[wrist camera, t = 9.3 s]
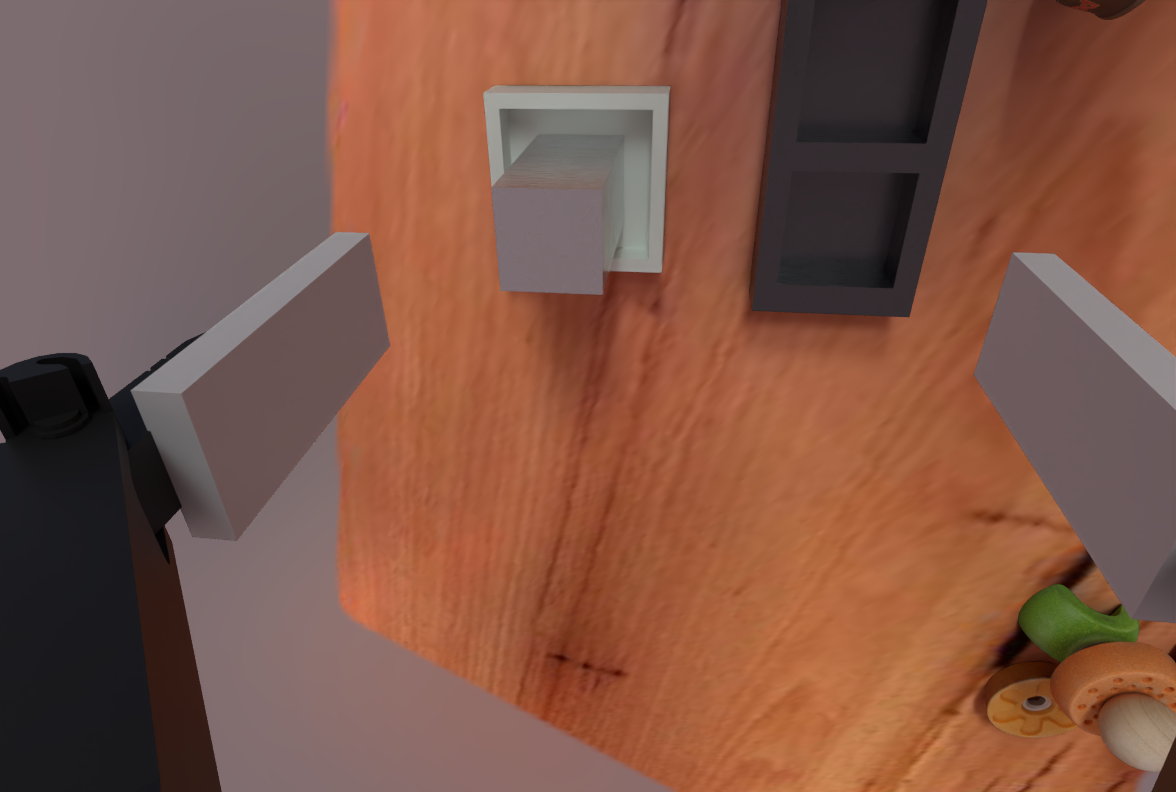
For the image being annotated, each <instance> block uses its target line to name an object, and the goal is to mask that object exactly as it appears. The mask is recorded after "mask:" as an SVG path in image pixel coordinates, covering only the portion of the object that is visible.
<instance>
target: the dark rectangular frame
mask: <svg viewBox="0 0 1176 792" xmlns="http://www.w3.org/2000/svg"><path fill="white" fill-rule="evenodd" d="M986 4H987V0H782V2H781V11H780V20H779V29H778V38H777V47H776V56H775V65H774V74H773V83H772V92H771V100H770V109H769V118H768V127H767V136H766V145H765V154H764V163H763V172H762V181H761V190H760V198H759V207H758V216H757V225H756V234H755V243H754V252H753V261H752V270H751V279H750V288H749V293H750V300H751V307H752V311H773V312H797V313H821V314H846V315H870V316H894V317H909V316H910V312H911V308H912V304H913V300H914V296H915V292H916V288H917V284H918V280H919V276H920V272H921V268H922V263H923V259H924V255H925V251H926V247H927V243H928V239H929V235H930V231H931V227H932V223H933V219H934V215H935V211H936V207H937V203H938V199H939V195H940V191H941V187H942V182H943V178H944V174H945V170H946V166H947V162H948V158H949V154H950V150H951V146H952V142H953V138H954V134H955V130H956V126H957V122H958V118H959V114H960V110H961V106H962V101H963V97H964V93H965V89H966V85H967V81H968V77H969V73H970V69H971V65H972V61H973V57H974V53H975V49H976V45H977V41H978V37H979V33H980V29H981V25H982V20H983V16H984V12H985V8H986Z"/></svg>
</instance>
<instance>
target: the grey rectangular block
mask: <svg viewBox="0 0 1176 792" xmlns="http://www.w3.org/2000/svg"><path fill="white" fill-rule="evenodd" d="M624 141H625V135H568V134H538V135H537V136H536V137H535V139H534V140H533V141H532V142H531V143H530V144H529V145H528V146H527V148H526V149H525V150H524V151H523V152H522V153H521V154H520V156H519V157H518V158H517V159H516V160H515V161H514V162H513V163H512V165H511V166H510V167H509V168H508V169H507V170H506V171H505V173H504V174H503V175H502V176H501V177H500V178H499V179H498V180H497V182H496V183H495V184H494V185H493V186H492V187H491V189H492V201H493V212H494V223H495V235H496V246H497V257H498V268H499V280H500V291H519V292H545V293H570V294H595V295H603V292H604V289H605V285H606V282H607V278H608V275H609V271H610V267H611V264H612V260H613V257H614V253H615V250H616V246H617V243H618V239H619V236H620V232H621V229H622V225H623V222H624Z"/></svg>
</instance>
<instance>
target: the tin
mask: <svg viewBox="0 0 1176 792" xmlns="http://www.w3.org/2000/svg"><path fill="white" fill-rule="evenodd" d="M1056 1H1058V2H1059V3H1060V4H1062V5H1065V6H1068V7H1071V8H1075V9H1079V10H1083V11H1087V12H1091V13H1094V14H1095V15H1096V16H1098V17H1099V18H1101V19H1104V20H1112V19H1115V18H1118V17H1121V16H1123V15H1125V14H1126V13H1128V12H1130V11H1131V10H1133V9H1134V8H1136V7H1137V6H1139V5H1140V4H1141V3H1142V2H1144V1H1145V0H1056Z"/></svg>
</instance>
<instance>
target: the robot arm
mask: <svg viewBox="0 0 1176 792" xmlns="http://www.w3.org/2000/svg"><path fill="white" fill-rule="evenodd" d="M389 346H390V342H389V337H388V331H387V326H386V321H385V315H384V310H383V305H382V299H381V294H380V288H379V283H378V278H377V272H376V267H375V262H374V256H373V251H372V246H371V240H370V235H369V233H346V232H335V233H334V234H333V235H331V236H330V237H329V238H328V239H326V240H325V241H324V242H323V243H321V244H320V245H319V246H317V247H316V248H315V249H313V250H312V251H311V252H309V253H308V254H307V255H306V256H304V257H303V258H302V259H300V260H299V261H298V262H296V263H295V264H294V265H293V266H291V267H290V268H289V269H288V270H286V271H285V272H284V273H282V274H281V275H280V276H278V277H277V278H276V279H275V280H273V281H272V282H271V283H269V284H268V285H267V286H266V287H264V288H263V289H261V290H260V291H259V292H258V293H256V294H255V295H254V296H252V297H251V298H250V299H249V300H247V301H246V302H245V303H243V304H242V305H241V306H239V307H238V308H237V309H236V310H234V311H233V312H232V313H230V314H229V315H228V316H227V317H225V318H224V319H223V320H221V321H220V322H219V323H218V324H216V325H215V326H214V327H212V328H211V329H210V330H208V331H207V332H205V333H202V334H200V335H198V336H196V337H194V338H191V339H189V340H187V341H185V342H184V343H182V344H181V345H180V346H178V347H177V348H176V349H174V350H173V351H172V352H171V353H169V354H168V355H167V356H166V359H161V360H160V361H159V362H157V363H156V364H155V365H153V366H152V367H151V370H150V371H145V372H144V373H143V374H142V375H140V376H139V377H138V378H136V379H135V380H134V381H132V382H131V383H130V384H128V385H127V386H126V387H124V388H123V389H122V390H121V391H119V392H118V393H116V394H115V395H114V396H112V397H111V398H110V399H108V397H107V395H106V393H105V390H104V388H103V386H102V384H101V381H100V379H99V377H98V375H97V372H96V370H95V368H94V366H93V363H92V362H91V360H90V359H89V358H88V357H87V356H85V355H81V354H77V353H56V354H50V355H44V356H38V357H34V358H31V359H28V360H24V361H21V362H17V363H15V364H13V365H10V366H8V367H6V368H4V369H1V370H0V430H1V432H2V434H3V436H4V438H5V439H6V443H0V792H222V791H221V786H220V781H219V776H218V772H217V766H216V761H215V756H214V751H213V746H212V741H211V736H210V731H209V726H208V721H207V716H206V711H205V706H204V700H203V696H202V691H201V685H200V681H199V675H198V670H197V666H196V660H195V655H194V650H193V645H192V640H191V635H190V630H189V625H188V620H187V615H186V610H185V605H184V600H183V595H182V590H181V585H180V580H179V575H178V570H177V565H176V560H175V555H174V550H173V544H172V541H171V539H170V537H169V534H168V532H167V530H166V528H165V524H166V523H167V522H168V521H169V520H170V519H171V518H172V517H173V515H174V514H175V513H176V512H177V511H178V510H179V509H181V511H182V514H183V516H184V518H185V521H186V523H187V525H188V528H189V530H190V532H191V535H192V537H200V538H211V539H222V540H233V541H237V540H238V539H239V537H240V536H241V535H242V533H243V532H244V531H245V530H246V528H247V527H248V526H249V525H250V523H251V522H252V521H253V520H254V518H255V517H256V516H257V514H258V513H259V512H260V511H261V509H262V508H263V507H264V505H265V504H266V503H267V502H268V500H269V499H270V498H271V497H272V495H273V494H274V493H275V492H276V490H277V489H278V488H279V486H280V485H281V484H282V482H283V481H284V480H285V479H286V478H287V476H288V475H289V474H290V472H291V471H292V470H293V469H294V467H295V466H296V465H297V463H298V462H299V461H300V460H301V458H302V457H303V456H304V455H305V453H306V452H307V451H308V449H309V448H310V447H311V446H312V444H313V443H314V442H315V441H316V439H317V438H318V437H319V435H320V434H321V433H322V432H323V430H324V429H325V428H326V427H327V425H328V424H329V423H330V422H331V420H332V419H333V418H334V416H335V415H336V414H337V413H338V411H339V410H340V409H341V408H342V406H343V405H344V404H345V402H346V401H347V400H348V399H349V397H350V396H351V395H352V394H353V392H354V391H355V390H356V388H357V387H358V386H359V385H360V383H361V382H362V381H363V380H364V378H365V377H366V376H367V374H368V373H369V372H370V371H371V369H372V368H373V367H374V366H375V364H376V363H377V362H378V360H379V359H380V358H381V357H382V355H383V354H384V353H385V352H386V350H387V349H388V348H389ZM974 376H975V377H976V379H977V381H978V382H979V384H980V385H981V387H982V388H983V390H984V391H985V393H986V395H987V396H988V398H989V399H990V401H991V402H992V404H993V405H994V407H995V408H996V410H997V412H998V413H999V415H1000V416H1001V418H1002V419H1003V421H1004V422H1005V424H1006V426H1007V427H1008V429H1009V430H1010V432H1011V433H1012V435H1013V436H1014V438H1015V439H1016V441H1017V443H1018V444H1019V446H1020V447H1021V449H1022V450H1023V452H1024V453H1025V455H1026V457H1027V458H1028V460H1029V461H1030V463H1031V464H1032V466H1033V467H1034V469H1035V470H1036V472H1037V474H1038V475H1039V477H1040V478H1041V480H1042V481H1043V483H1044V484H1045V486H1046V488H1047V489H1048V491H1049V492H1050V494H1051V495H1052V497H1053V498H1054V500H1055V501H1056V503H1057V505H1058V506H1059V508H1060V509H1061V511H1062V512H1063V514H1064V515H1065V517H1066V519H1067V520H1068V522H1069V523H1070V525H1071V526H1072V528H1073V529H1074V531H1075V532H1076V534H1077V536H1078V537H1079V539H1080V540H1081V542H1082V543H1083V545H1084V546H1085V548H1086V550H1087V551H1088V553H1089V554H1090V556H1091V557H1092V559H1093V560H1094V562H1095V563H1096V565H1097V567H1098V568H1099V570H1100V571H1101V573H1102V574H1103V576H1104V577H1105V579H1106V581H1107V582H1108V584H1109V585H1110V587H1111V588H1112V590H1113V591H1114V593H1115V594H1116V596H1117V598H1118V599H1119V601H1120V602H1121V604H1122V605H1123V607H1124V608H1125V610H1126V612H1127V613H1128V615H1129V616H1130V618H1131V619H1136V620H1147V621H1159V622H1170V623H1176V357H1175V356H1174V355H1172V354H1171V353H1170V352H1169V351H1168V350H1167V349H1165V348H1164V347H1163V346H1162V345H1161V344H1160V343H1158V342H1157V341H1156V340H1155V339H1154V338H1153V337H1151V336H1150V335H1149V334H1148V333H1147V332H1146V331H1144V330H1143V329H1142V328H1141V327H1140V326H1139V325H1137V324H1136V323H1135V322H1134V321H1133V320H1131V319H1130V318H1129V317H1128V316H1127V315H1126V314H1124V313H1123V312H1122V311H1121V310H1120V309H1119V308H1117V307H1116V306H1115V305H1114V304H1113V303H1112V302H1110V301H1109V300H1108V299H1107V298H1106V297H1105V296H1103V295H1102V294H1101V293H1100V292H1099V291H1098V290H1096V289H1095V288H1094V287H1093V286H1092V285H1091V284H1089V283H1088V282H1087V281H1086V280H1085V279H1084V278H1082V277H1081V276H1080V275H1079V274H1078V273H1077V272H1075V271H1074V270H1073V269H1072V268H1071V267H1069V266H1068V265H1067V264H1066V263H1065V262H1064V261H1062V260H1061V259H1060V258H1059V257H1058V256H1057V255H1055V254H1047V253H1013V252H1012V255H1011V259H1010V262H1009V265H1008V268H1007V271H1006V274H1005V278H1004V281H1003V284H1002V287H1001V290H1000V293H999V297H998V300H997V303H996V306H995V309H994V312H993V316H992V319H991V322H990V325H989V328H988V331H987V335H986V338H985V341H984V344H983V347H982V350H981V354H980V357H979V360H978V363H977V366H976V370H975V373H974ZM1152 792H1176V737H1175V739H1174V741H1173V744H1172V746H1171V748H1170V751H1169V753H1168V755H1167V757H1166V760H1165V762H1164V764H1163V767H1162V769H1161V771H1160V774H1159V776H1158V778H1157V781H1156V783H1155V785H1154V787H1153V790H1152Z"/></svg>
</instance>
